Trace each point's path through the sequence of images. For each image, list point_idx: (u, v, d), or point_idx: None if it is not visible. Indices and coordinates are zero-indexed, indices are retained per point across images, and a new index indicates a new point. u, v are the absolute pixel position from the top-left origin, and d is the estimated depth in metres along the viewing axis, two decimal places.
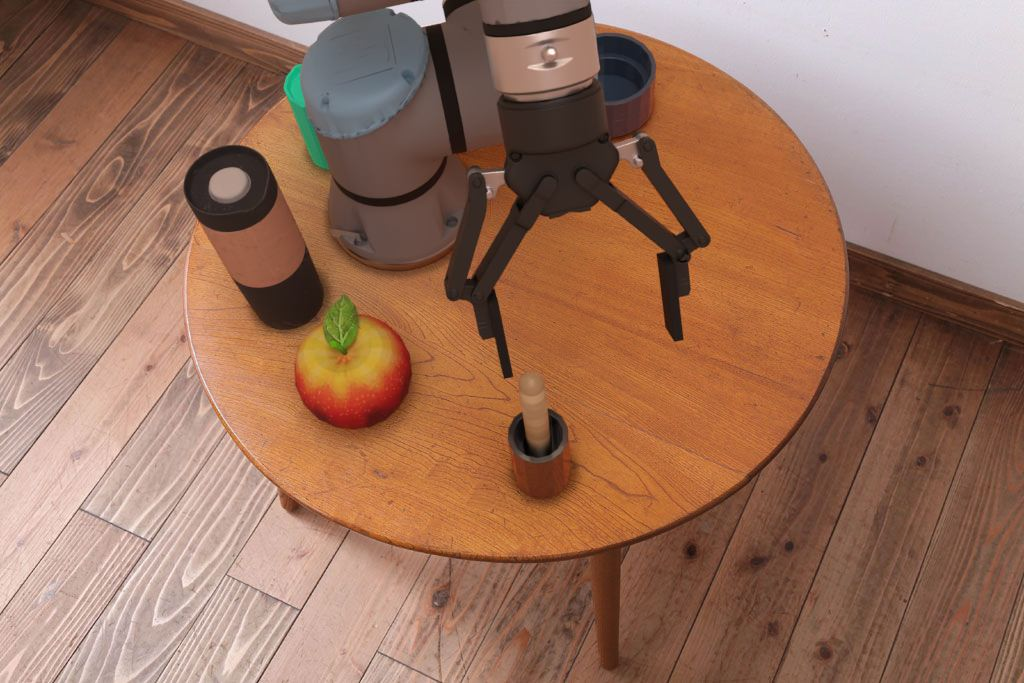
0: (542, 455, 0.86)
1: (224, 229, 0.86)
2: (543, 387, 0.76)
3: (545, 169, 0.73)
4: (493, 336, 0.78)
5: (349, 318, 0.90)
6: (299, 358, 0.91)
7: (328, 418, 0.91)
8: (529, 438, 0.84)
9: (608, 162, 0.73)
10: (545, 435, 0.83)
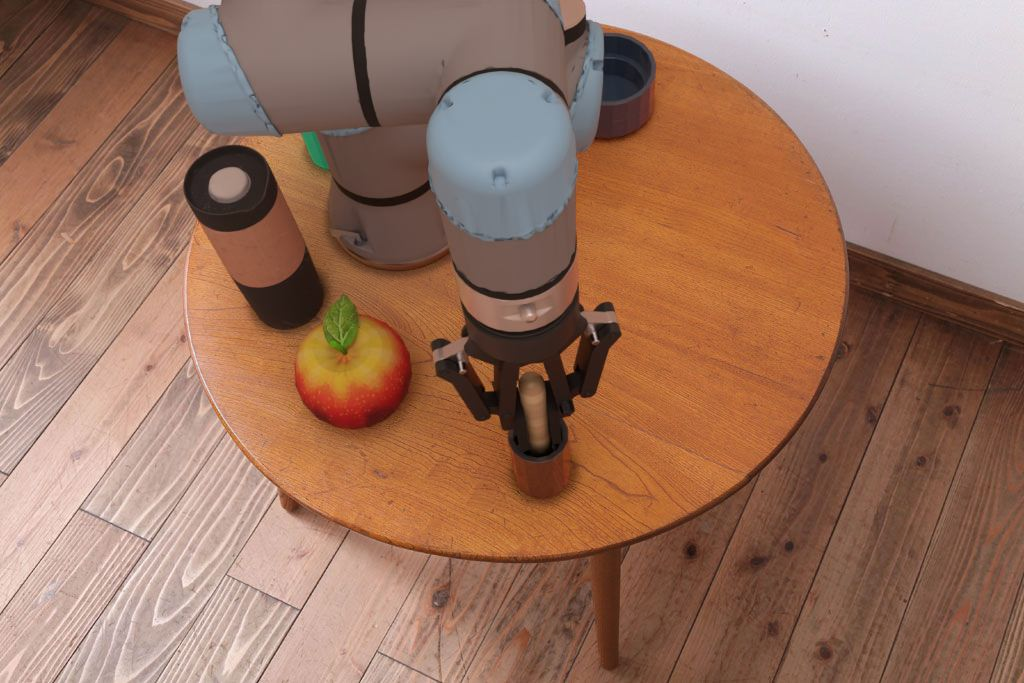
0: (542, 455, 0.86)
1: (224, 229, 0.86)
2: (543, 387, 0.76)
3: None
4: (515, 428, 0.81)
5: (349, 318, 0.90)
6: (299, 358, 0.91)
7: (328, 417, 0.91)
8: (529, 438, 0.84)
9: (573, 335, 0.69)
10: (545, 435, 0.83)
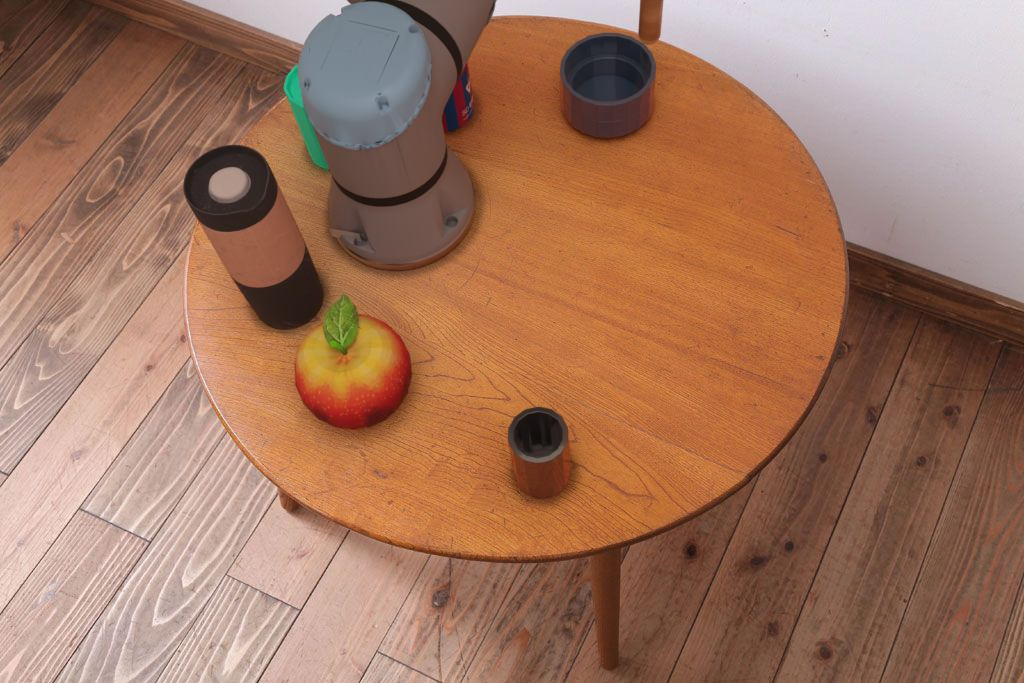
0: None
1: (224, 229, 0.86)
2: None
3: None
4: None
5: (349, 318, 0.90)
6: (299, 358, 0.91)
7: (328, 418, 0.91)
8: None
9: None
10: None
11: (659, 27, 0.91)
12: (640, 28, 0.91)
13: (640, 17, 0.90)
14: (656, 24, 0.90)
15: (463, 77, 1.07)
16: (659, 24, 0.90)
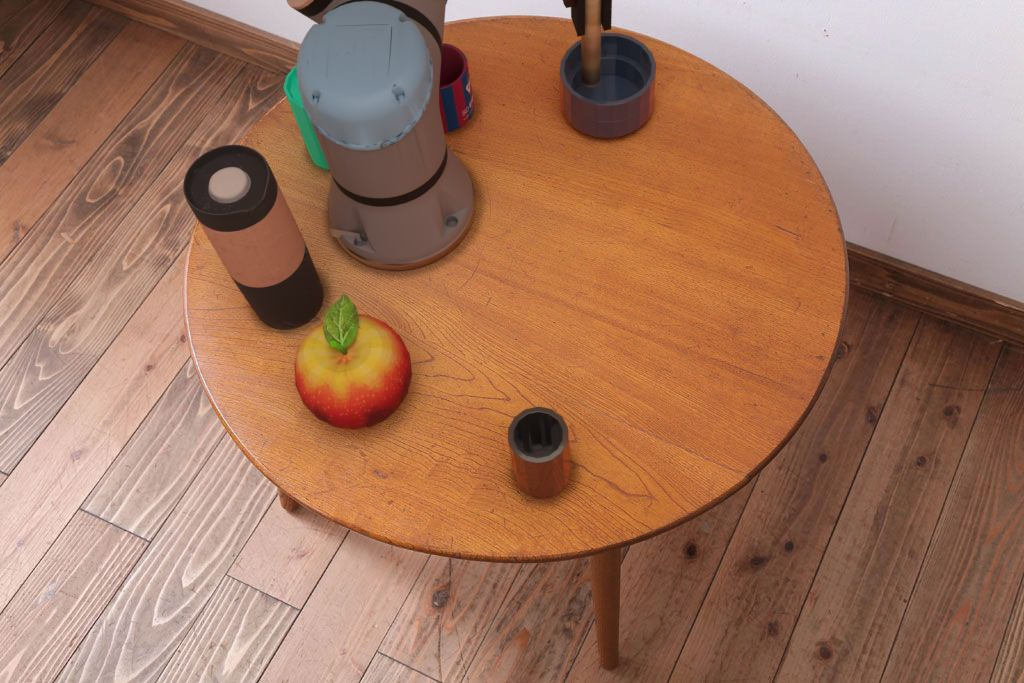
0: (594, 50, 1.03)
1: (224, 229, 0.86)
2: None
3: None
4: (574, 5, 0.98)
5: (349, 318, 0.90)
6: (299, 358, 0.91)
7: (328, 418, 0.91)
8: None
9: None
10: (598, 21, 1.00)
11: (598, 73, 1.07)
12: (583, 75, 1.07)
13: (582, 66, 1.06)
14: (596, 71, 1.06)
15: (463, 77, 1.07)
16: (598, 71, 1.07)
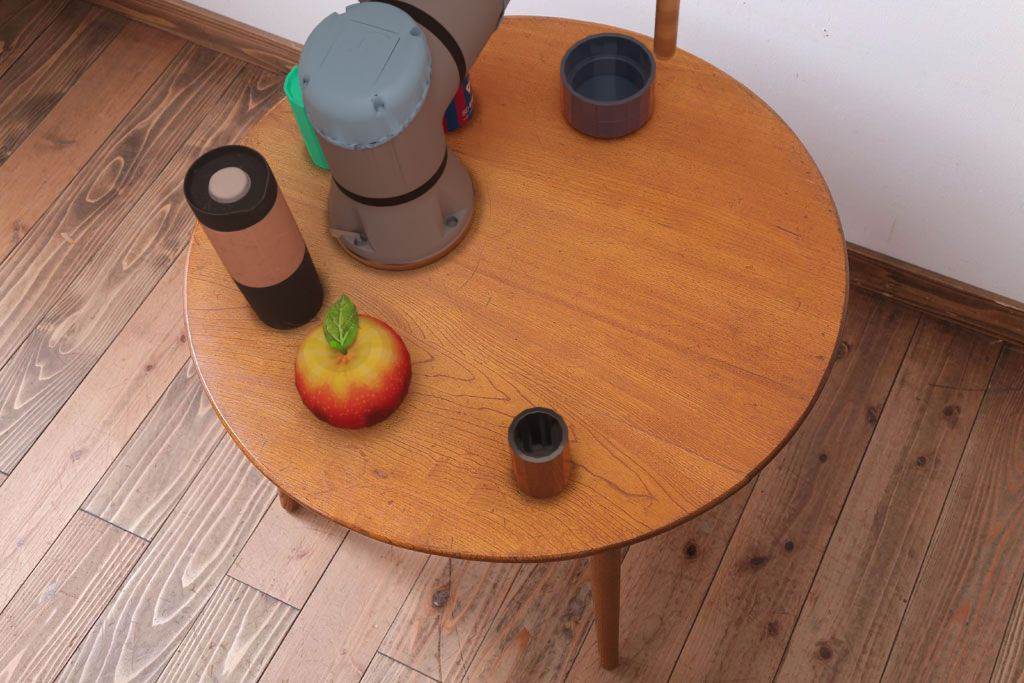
0: (671, 13, 0.86)
1: (224, 229, 0.86)
2: None
3: None
4: None
5: (349, 318, 0.90)
6: (299, 358, 0.91)
7: (328, 418, 0.91)
8: None
9: None
10: None
11: (675, 43, 0.89)
12: (656, 45, 0.89)
13: (655, 34, 0.89)
14: (672, 40, 0.89)
15: None
16: (675, 40, 0.89)
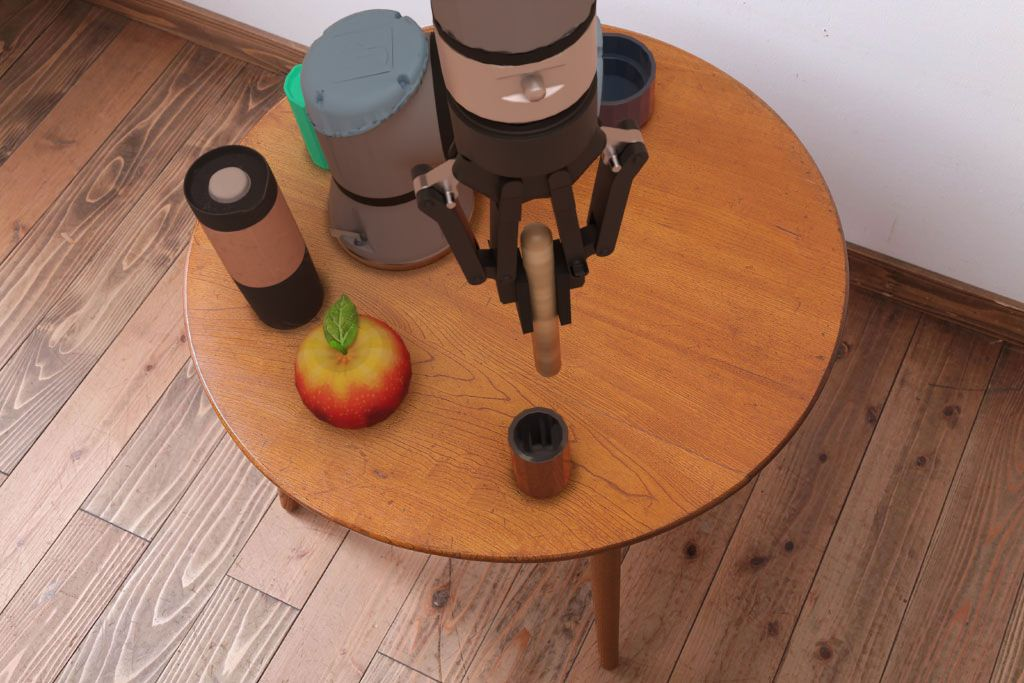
0: (548, 343, 0.72)
1: (224, 229, 0.86)
2: (551, 241, 0.62)
3: None
4: (516, 301, 0.67)
5: (349, 318, 0.90)
6: (299, 358, 0.91)
7: (328, 418, 0.91)
8: (533, 319, 0.70)
9: (589, 154, 0.55)
10: (553, 314, 0.69)
11: (558, 363, 0.76)
12: (536, 364, 0.76)
13: (534, 355, 0.75)
14: (553, 362, 0.75)
15: None
16: (557, 361, 0.76)
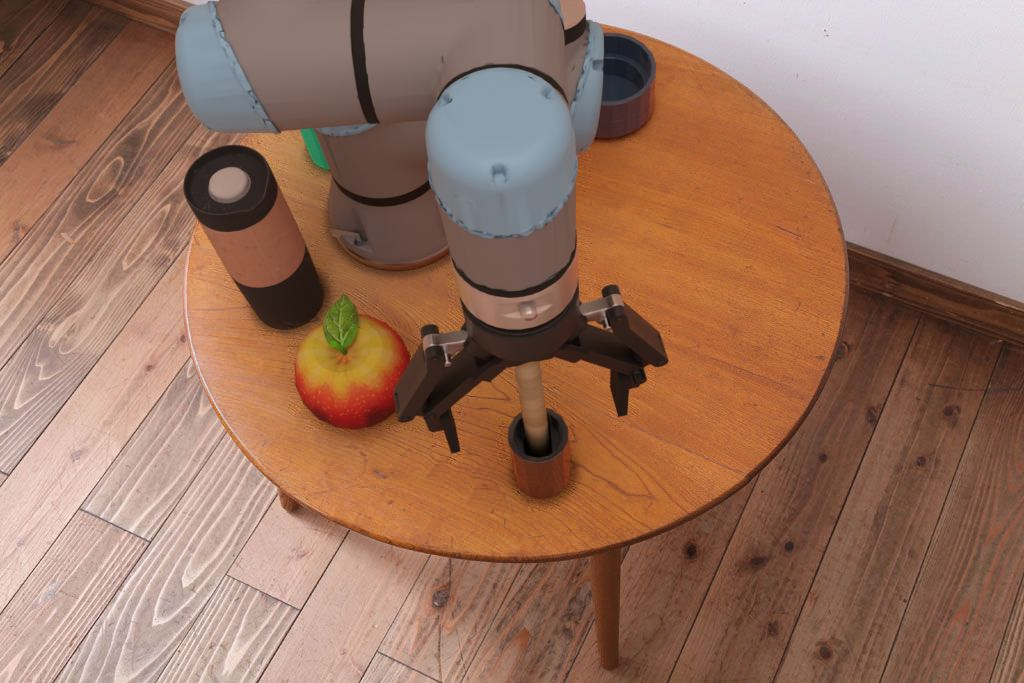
0: (540, 447, 0.87)
1: (224, 229, 0.86)
2: None
3: None
4: (442, 429, 0.78)
5: (349, 318, 0.90)
6: (299, 358, 0.91)
7: (328, 418, 0.91)
8: (527, 426, 0.84)
9: (575, 331, 0.68)
10: (543, 422, 0.84)
11: None
12: None
13: None
14: None
15: None
16: None
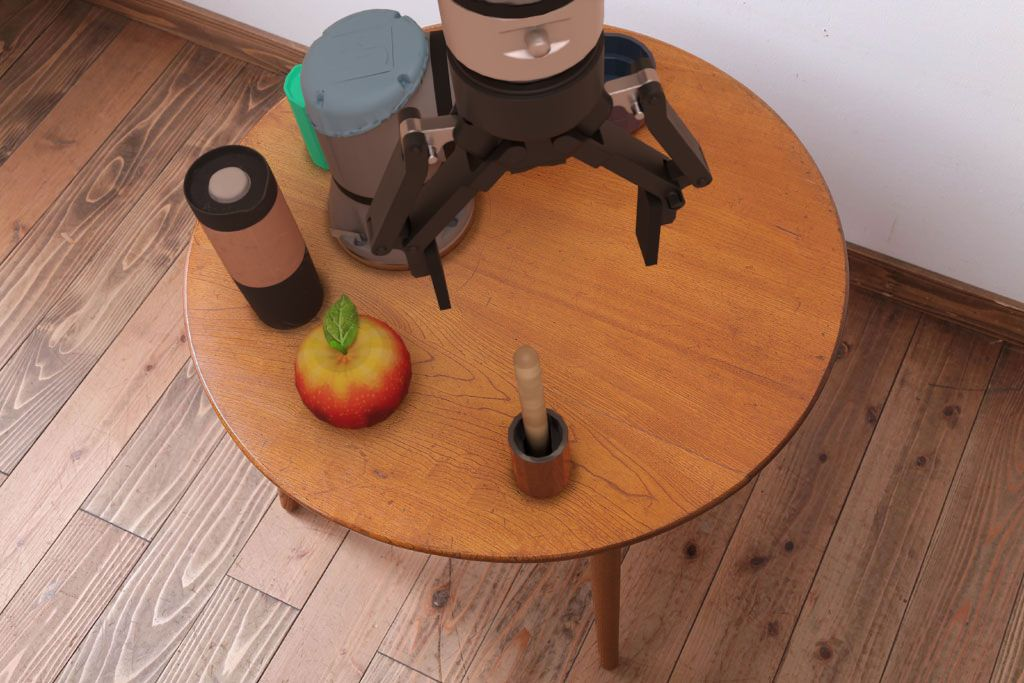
0: (540, 447, 0.87)
1: (224, 229, 0.86)
2: (537, 360, 0.77)
3: None
4: (428, 274, 0.63)
5: (349, 318, 0.90)
6: (299, 358, 0.91)
7: (328, 418, 0.91)
8: (527, 426, 0.84)
9: (597, 117, 0.53)
10: (543, 422, 0.84)
11: None
12: None
13: None
14: None
15: None
16: None
